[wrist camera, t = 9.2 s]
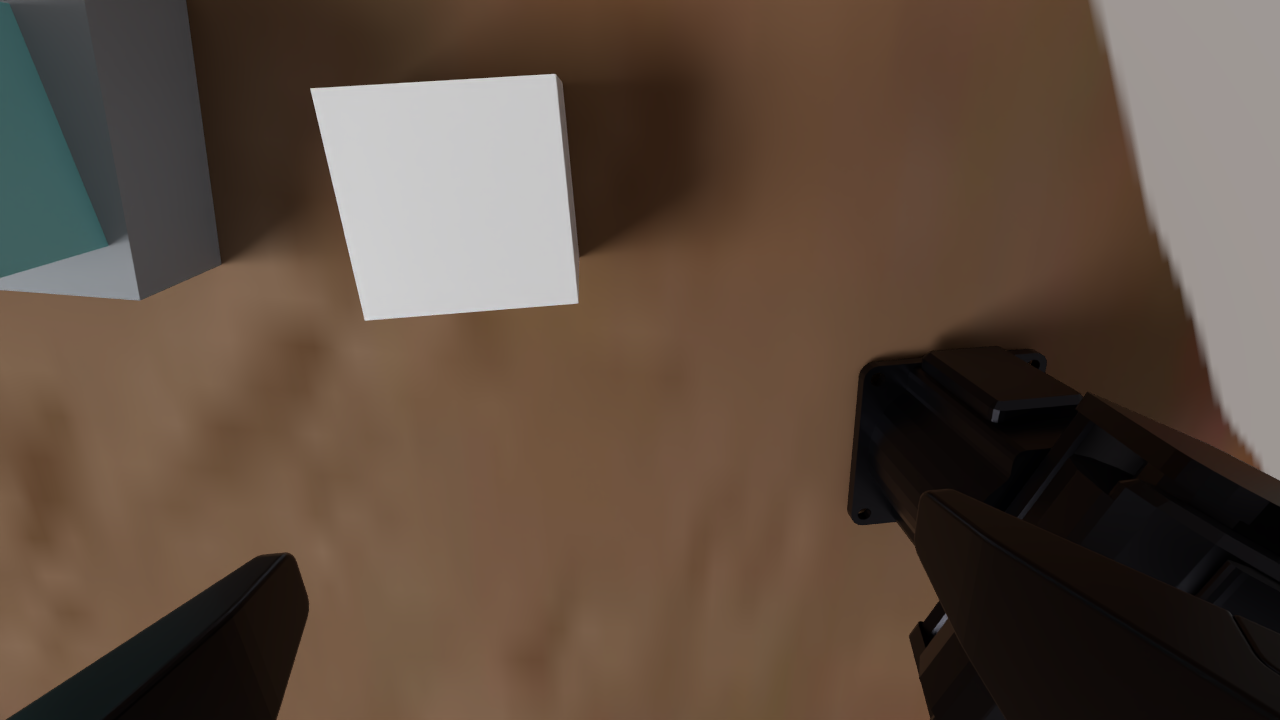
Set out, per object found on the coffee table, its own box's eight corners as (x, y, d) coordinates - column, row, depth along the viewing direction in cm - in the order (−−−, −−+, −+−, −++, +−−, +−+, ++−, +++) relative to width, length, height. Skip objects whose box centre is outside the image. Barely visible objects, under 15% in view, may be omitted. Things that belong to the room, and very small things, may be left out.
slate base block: (225, 262, 19) (140, 300, 15) (-35, 240, 18) (-192, 275, 14) (191, -1, 16) (78, -32, 13) (-113, -41, 16) (-329, -86, 12)
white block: (579, 257, 20) (578, 303, 15) (416, 269, 19) (365, 320, 15) (562, 82, 18) (555, 74, 13) (382, 93, 17) (310, 88, 13)
